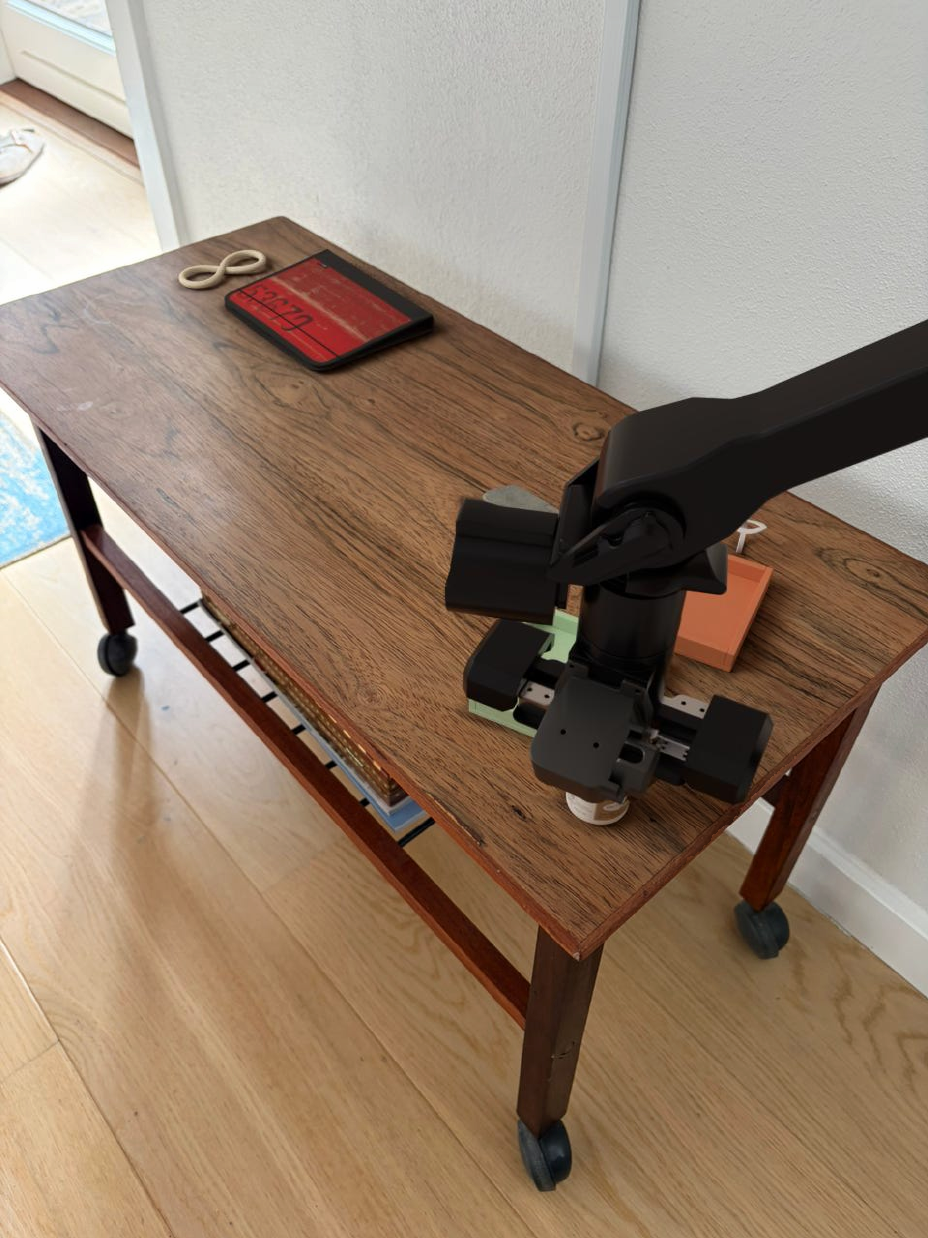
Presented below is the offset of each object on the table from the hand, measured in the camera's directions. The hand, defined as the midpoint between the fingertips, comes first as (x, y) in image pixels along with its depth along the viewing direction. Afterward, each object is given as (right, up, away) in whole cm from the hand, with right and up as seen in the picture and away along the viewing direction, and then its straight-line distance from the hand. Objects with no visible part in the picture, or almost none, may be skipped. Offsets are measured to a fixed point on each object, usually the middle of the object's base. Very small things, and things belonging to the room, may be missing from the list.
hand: (600, 783), depth 70 cm
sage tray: (-1, +6, +9) cm, 11 cm away
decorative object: (-39, +54, +56) cm, 86 cm away
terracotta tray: (+9, +12, +15) cm, 22 cm away
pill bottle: (0, -2, +2) cm, 2 cm away
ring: (+15, +17, +20) cm, 31 cm away
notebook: (-25, +46, +48) cm, 71 cm away
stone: (-3, +19, +22) cm, 29 cm away
